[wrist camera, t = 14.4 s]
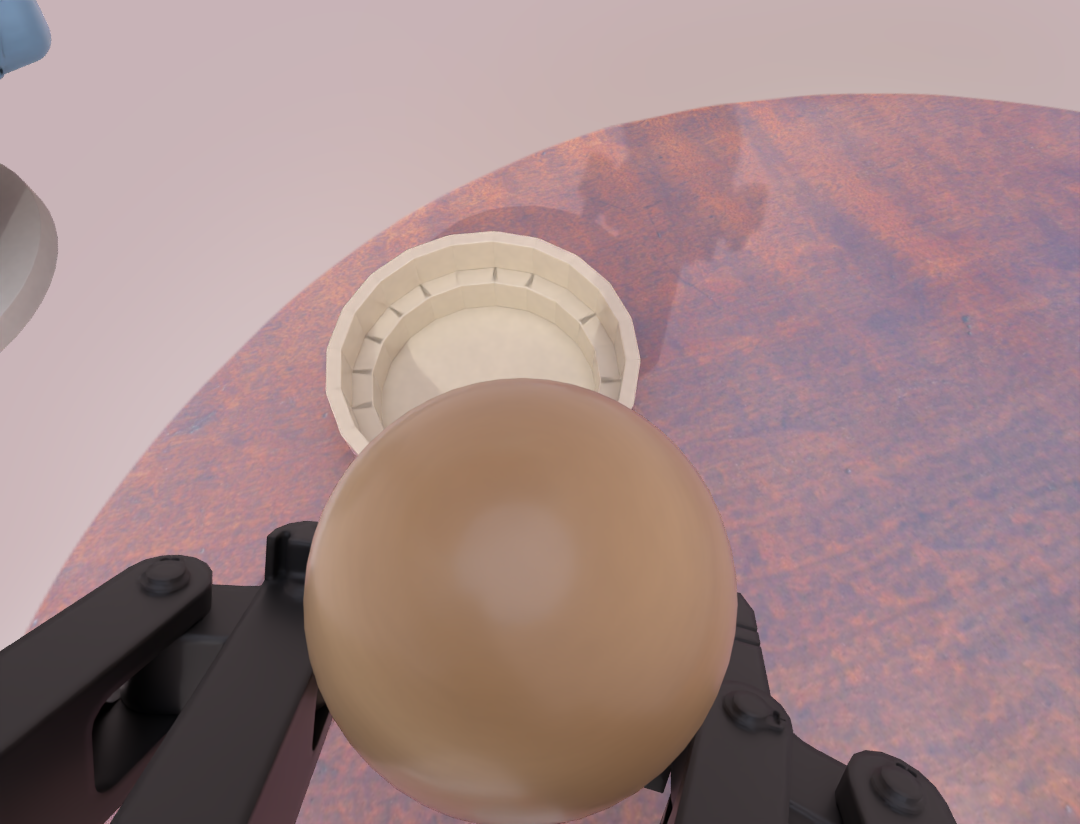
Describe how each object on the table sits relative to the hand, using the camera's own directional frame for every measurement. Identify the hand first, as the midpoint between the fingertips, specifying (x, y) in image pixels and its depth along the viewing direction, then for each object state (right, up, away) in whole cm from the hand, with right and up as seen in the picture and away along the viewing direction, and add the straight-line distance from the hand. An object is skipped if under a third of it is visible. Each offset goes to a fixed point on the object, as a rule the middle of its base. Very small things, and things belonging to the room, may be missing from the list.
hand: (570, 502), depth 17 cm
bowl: (-4, +3, +24) cm, 24 cm away
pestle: (-1, -5, +3) cm, 6 cm away
